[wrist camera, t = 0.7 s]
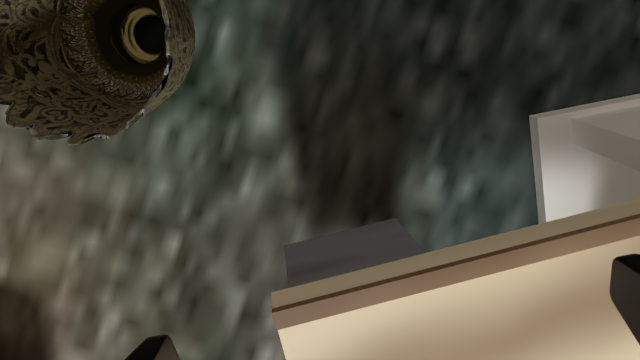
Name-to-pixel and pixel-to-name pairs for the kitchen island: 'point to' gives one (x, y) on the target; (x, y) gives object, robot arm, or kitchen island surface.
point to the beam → (460, 293)
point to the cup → (88, 64)
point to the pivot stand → (586, 157)
